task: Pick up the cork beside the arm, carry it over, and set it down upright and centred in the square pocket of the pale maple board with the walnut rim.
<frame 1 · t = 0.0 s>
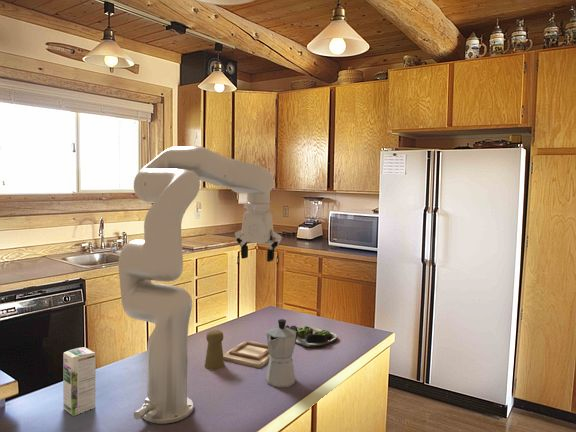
hand: (257, 259, 150), 31 cm above the counter, tool pointing down, fingers open, 9 cm apart
maple board: (252, 355, 149), on the counter
syrup box: (79, 409, 112), on the counter
salad plate: (311, 341, 165), on the counter
coffee maker: (282, 380, 132), on the counter
cork: (214, 366, 140), on the counter
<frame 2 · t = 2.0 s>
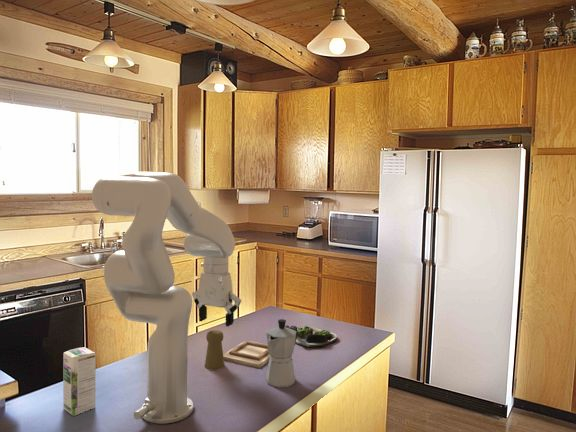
hand: (216, 322, 139), 14 cm above the counter, tool pointing down, fingers open, 9 cm apart
nothing on the counter moved.
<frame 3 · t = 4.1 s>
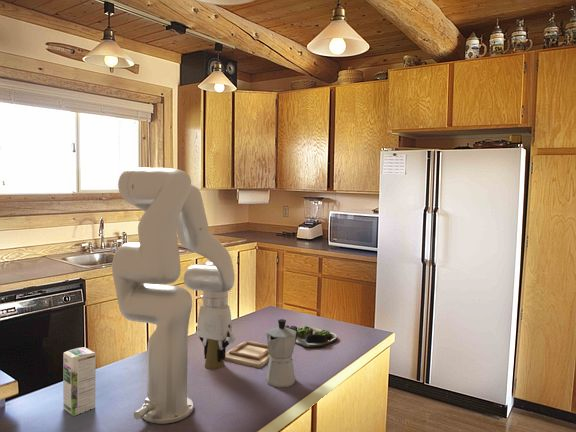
hand: (214, 358, 139), 2 cm above the counter, tool pointing down, fingers closed on cork, 4 cm apart
cork: (214, 366, 140), on the counter, touching gripper
everything else where it was.
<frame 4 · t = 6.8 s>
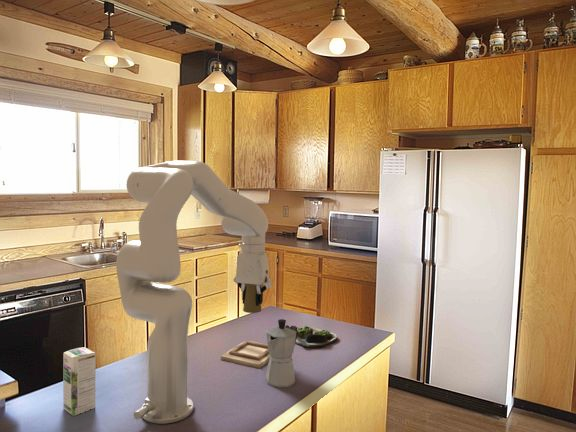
hand: (252, 303, 147), 17 cm above the counter, tool pointing down, fingers closed on cork, 4 cm apart
cork: (252, 310, 147), point 15 cm above the counter, touching gripper
everything else where it was.
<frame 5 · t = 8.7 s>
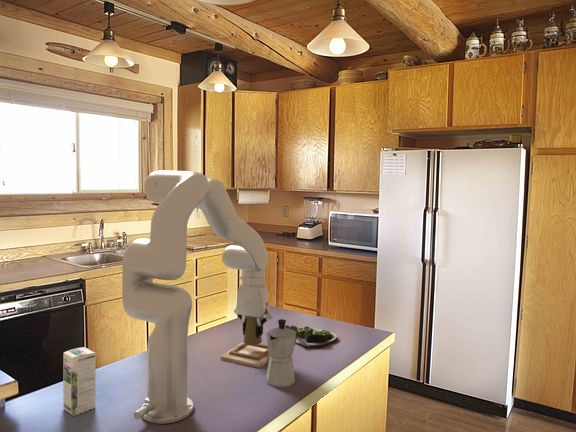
hand: (252, 334, 148), 7 cm above the counter, tool pointing down, fingers closed on cork, 4 cm apart
cork: (252, 342, 149), point 4 cm above the counter, touching gripper
everything else where it was.
when the fingers open (5 cm above the counter, at t = 9.9 s): cork drops 1 cm, resting on maple board.
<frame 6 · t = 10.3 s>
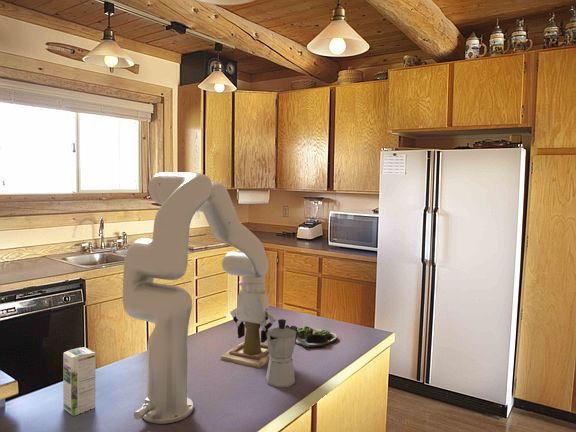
hand: (252, 338, 148), 5 cm above the counter, tool pointing down, fingers open, 8 cm apart
cork: (252, 352, 149), point 1 cm above the counter, touching maple board
everything else where it was.
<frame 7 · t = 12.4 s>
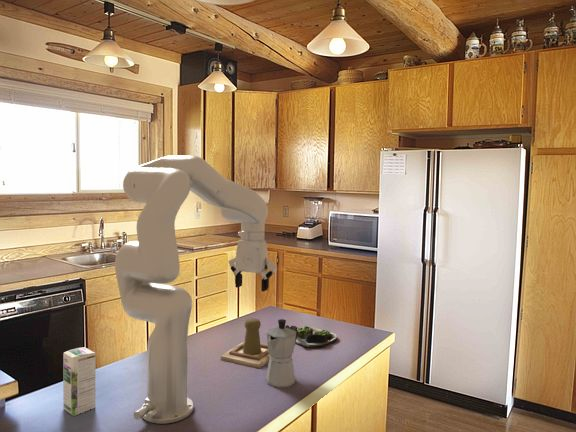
hand: (251, 288, 147), 22 cm above the counter, tool pointing down, fingers open, 9 cm apart
nothing on the counter moved.
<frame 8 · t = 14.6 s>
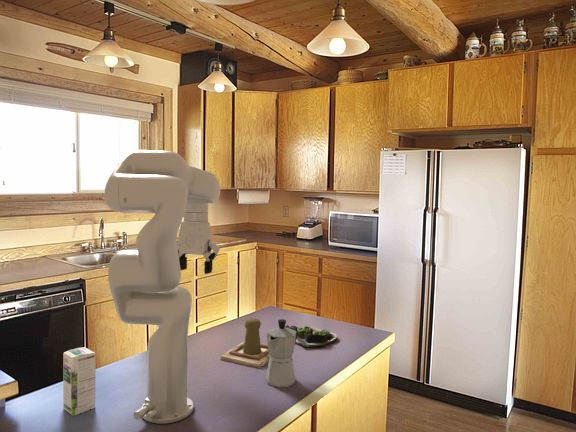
hand: (195, 271, 143), 28 cm above the counter, tool pointing down, fingers open, 9 cm apart
nothing on the counter moved.
at the end: cork 0.2 cm off-centre on the maple board, point 1.0 cm above the maple board's base; cork tilted 0°; the gripper is holding nothing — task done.
